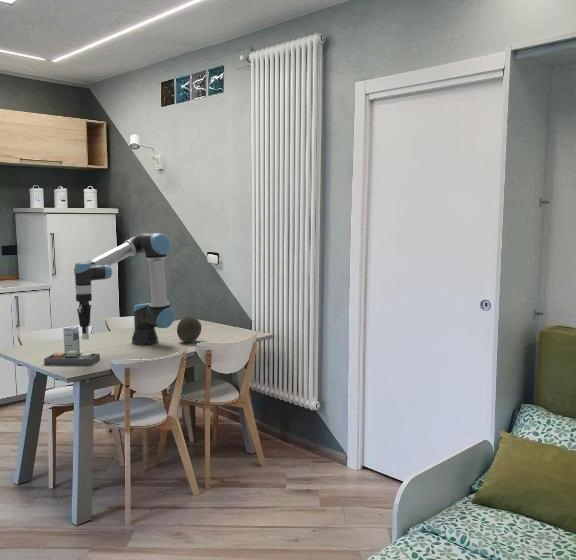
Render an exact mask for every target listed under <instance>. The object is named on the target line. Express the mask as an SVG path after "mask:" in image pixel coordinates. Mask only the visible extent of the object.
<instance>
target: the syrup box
mask: <svg viewBox="0 0 576 560" xmlns="http://www.w3.org/2000/svg"><path fill="white" fill-rule="evenodd" d="M79 330H80V329H79V326H77V325H76V326H75V325H73V326H67V327H63V328H62V332H63V345H64V346H63V348H64V350H63V351H64V353H67V352H68V351H78V353H81V350H80V331H79Z"/></svg>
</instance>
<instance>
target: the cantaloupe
mask: <svg viewBox="0 0 576 560" xmlns="http://www.w3.org/2000/svg"><path fill="white" fill-rule="evenodd" d="M201 332H202V323H201V321H200V320H199V319H198V318H196V317H194V316H185V317H183V318H181V319H180V321H179V322H178V323H177V328H176V334H177V337H178V338H179V340H181V341H182V342H184V343H186V344H190V342H191V343H193V342H194V341H196V340H197V339H198V338H199V337H200V335H201Z"/></svg>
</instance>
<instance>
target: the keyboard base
mask: <svg viewBox="0 0 576 560" xmlns="http://www.w3.org/2000/svg"><path fill="white" fill-rule="evenodd" d="M55 353H56V352H54V353H52V354H50V355H49V356H46V357H45V358H44V359H43V363H44V364H55V365H54V366H93V365H94V364H96V363H97V362H99V361H100V360H101V353H92V357H91V358H90V359H88V358H84V359H83V358H80V355H81V354H83V352H79V353H78V355H77V356H75V357H67V356H66V353H65V352H64V353H65V356H64V357H62V358H53V355H54V354H55ZM98 360H99V361H98ZM95 362H96V363H95Z"/></svg>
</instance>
